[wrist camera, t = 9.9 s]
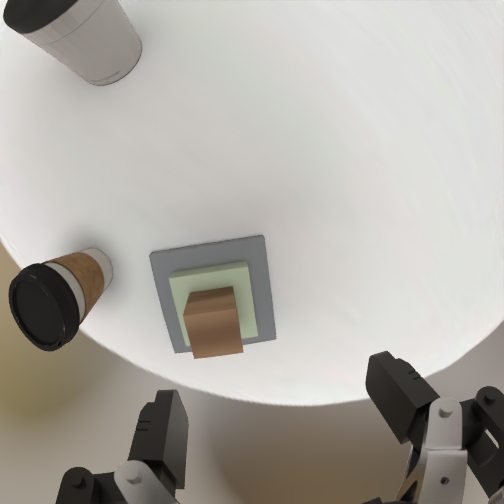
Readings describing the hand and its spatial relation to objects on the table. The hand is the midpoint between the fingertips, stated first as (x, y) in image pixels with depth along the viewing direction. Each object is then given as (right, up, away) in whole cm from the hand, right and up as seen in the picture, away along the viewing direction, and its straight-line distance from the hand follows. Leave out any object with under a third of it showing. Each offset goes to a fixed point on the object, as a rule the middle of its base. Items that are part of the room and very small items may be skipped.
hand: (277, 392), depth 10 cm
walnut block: (-5, -1, +21) cm, 22 cm away
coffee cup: (-22, +3, +23) cm, 32 cm away
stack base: (-6, 0, +25) cm, 26 cm away
